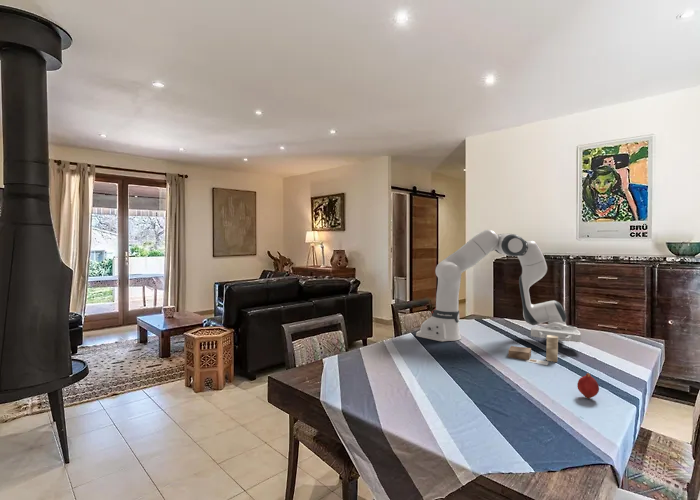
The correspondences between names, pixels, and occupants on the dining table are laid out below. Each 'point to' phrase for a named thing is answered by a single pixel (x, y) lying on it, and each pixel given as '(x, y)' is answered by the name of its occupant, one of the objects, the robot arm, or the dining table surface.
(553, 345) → the pillar
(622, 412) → the dining table surface
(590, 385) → the red rounded piece
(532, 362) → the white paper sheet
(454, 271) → the robot arm
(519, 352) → the plinth
